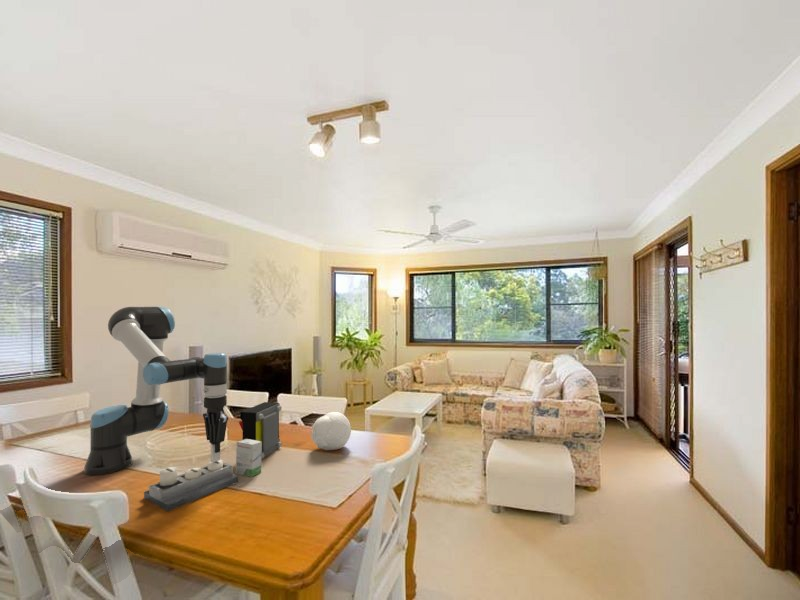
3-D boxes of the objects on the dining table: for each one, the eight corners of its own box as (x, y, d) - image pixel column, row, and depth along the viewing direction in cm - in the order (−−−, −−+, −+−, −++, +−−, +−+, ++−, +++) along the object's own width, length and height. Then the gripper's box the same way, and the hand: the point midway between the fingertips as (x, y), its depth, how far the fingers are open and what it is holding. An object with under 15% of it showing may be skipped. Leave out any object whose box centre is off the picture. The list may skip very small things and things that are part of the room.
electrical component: (260, 462, 154) (260, 413, 155) (238, 460, 157) (238, 411, 157) (283, 447, 171) (283, 402, 172) (263, 445, 174) (263, 402, 174)
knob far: (204, 474, 137) (204, 462, 137) (218, 469, 141) (218, 457, 141) (212, 477, 134) (212, 465, 134) (225, 472, 138) (225, 460, 139)
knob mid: (182, 483, 130) (182, 470, 130) (196, 477, 134) (196, 465, 135) (189, 486, 128) (189, 474, 128) (204, 481, 132) (204, 468, 132)
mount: (143, 498, 125) (143, 482, 126) (214, 472, 145) (214, 458, 146) (167, 511, 116) (167, 495, 117) (238, 481, 137) (238, 467, 137)
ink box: (235, 473, 144) (235, 442, 144) (246, 468, 149) (245, 437, 149) (251, 477, 140) (251, 445, 141) (262, 471, 145) (262, 440, 145)
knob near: (156, 483, 124) (156, 470, 124) (172, 477, 128) (173, 465, 128) (164, 487, 121) (164, 473, 121) (180, 481, 125) (180, 468, 125)
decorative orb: (362, 446, 170) (362, 411, 171) (335, 460, 155) (335, 421, 156) (329, 439, 181) (329, 406, 181) (301, 451, 166) (301, 414, 166)
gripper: (195, 395, 139) (195, 460, 138) (215, 399, 132) (215, 468, 131) (215, 392, 145) (215, 454, 145) (235, 395, 138) (235, 461, 137)
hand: (215, 460), depth 138 cm, fingers closed
